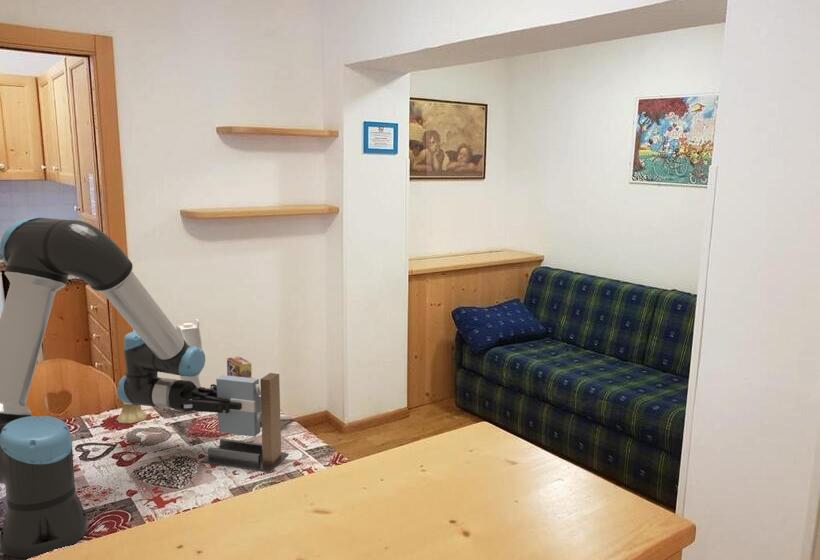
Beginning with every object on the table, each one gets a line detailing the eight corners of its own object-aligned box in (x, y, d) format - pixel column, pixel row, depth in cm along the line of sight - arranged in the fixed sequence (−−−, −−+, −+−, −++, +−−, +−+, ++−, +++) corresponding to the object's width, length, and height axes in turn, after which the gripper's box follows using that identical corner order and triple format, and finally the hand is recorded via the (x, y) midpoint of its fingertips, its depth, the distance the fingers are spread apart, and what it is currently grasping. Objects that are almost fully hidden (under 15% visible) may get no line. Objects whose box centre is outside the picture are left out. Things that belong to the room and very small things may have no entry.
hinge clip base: (270, 472, 155) (267, 383, 151) (200, 462, 160) (196, 376, 156) (288, 454, 165) (286, 371, 161) (222, 445, 170) (219, 364, 166)
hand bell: (130, 411, 192) (127, 360, 189) (153, 415, 190) (150, 363, 187) (110, 421, 184) (106, 368, 182) (133, 425, 182) (130, 371, 179)
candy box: (253, 411, 194) (252, 362, 191) (240, 414, 191) (238, 365, 188) (240, 402, 200) (239, 355, 198) (227, 405, 198) (225, 357, 195)
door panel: (258, 437, 159) (256, 383, 156) (218, 431, 162) (216, 378, 159) (263, 432, 162) (261, 379, 159) (225, 427, 165) (222, 375, 162)
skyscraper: (212, 405, 198) (208, 316, 193) (196, 414, 190) (191, 322, 185) (188, 401, 200) (184, 314, 195) (172, 411, 193) (167, 320, 188)
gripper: (194, 397, 173) (273, 406, 167) (156, 420, 158) (242, 431, 152) (193, 370, 172) (273, 379, 166) (154, 391, 157) (241, 401, 151)
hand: (258, 403), depth 159 cm, fingers closed on door panel, 3 cm apart
